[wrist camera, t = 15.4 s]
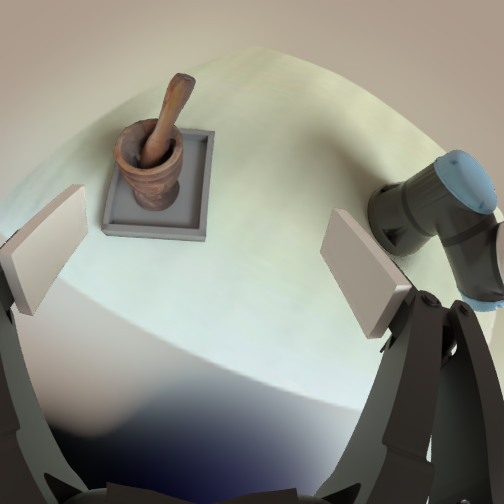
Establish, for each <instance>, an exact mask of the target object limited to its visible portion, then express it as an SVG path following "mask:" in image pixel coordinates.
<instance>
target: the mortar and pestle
mask: <svg viewBox="0 0 504 504" xmlns="http://www.w3.org/2000/svg"><path fill="white" fill-rule="evenodd" d="M195 82H196V81H195V79H194V78H193V77H191V76H189V75H187V74H181V73H177V74H176V75H175V76H174V77H173V78H172V80H171V81H170V83H169V86H168V88H167V91H166V94H165V98H164V101H163V106H162V110H161V113H160V116H159V119H147V120H140V121H138V122H136V123H134V124H132V125H130V126H129V127H127V128H126V129H125V130H124V131H123V132H122V133H121V135H120V136H119V138H118V140H117V142H116V144H115V149H114V157H115V158H116V161H117V163H118V165H119V167H120V170H121V173H122V175H123V176H124V178H125V180H126V181H127V183H128V184H129V185H130V186H131V187H132V188H133V189H134V196H135V199H136V201H137V204H138V205H139V206H141V207H142V208H143V209H146V210H149V211H163V210H165V209H167V208H169V207H170V206H171V205H172V204H173V203H174V202H175V200H176V198H177V197H178V195H179V190H180V185H179V182H178V180H177V179H178V177H179V175H180V173H181V170H182V165H183V152H184V149H183V138H182V135H181V133H180V131H179V130H178V128H177V127H176V126H175V125H174V123H175V121H176V119H177V117H178V115H179V113H180V112H181V110H182V109H183V107H184V105H185V104H186V102H187V101H188V99H189V97H190V95H191V92H192V90H193V89H194V85H195Z"/></svg>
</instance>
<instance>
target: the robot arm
mask: <svg viewBox="0 0 504 504" xmlns="http://www.w3.org/2000/svg"><path fill="white" fill-rule="evenodd" d="M494 190H495V189H494V186H493V184H492V182H491V180H490V178H489V176H488V174H487V173H486V171H485V170H484V169H483V167H482V166H481V165H480V164H479V162H478V161H477V160H476V159H474V158H473V157H472V156H471V155H469V154H468V153H466V152H464V151H461V150H453V151H450V152H449V153H447V154H445V155H444V156H441V157H438V158H437V159H436V160H435V162H433V163H432V164H430V165H429V166H428V167H426V168H425V169H423V170H422V171H420V172H419V173H417V174H416V175H414V176H413V177H411V178H410V179H408V180H407V181H403V182H397V183H392V184H387V185H384V186H382V187H381V188H379V189H378V190H376V191H375V192H374V193H373V194H372V196H371V198H370V201H369V205H368V218H369V222H370V226H371V229H372V231H373V233H374V235H375V237H376V239H377V240H378V242H379V243H380V244H381V245H382V246H383V247H384V248H385V249H386V250H387V251H388V252H390V253H392V254H394V255H396V256H407V255H410V254H413V253H415V252H417V251H418V250H419V249H420V248H421V247H422V246H423V245H424V244H425V243H426V242H427V241H428V240H429V239H430V238H431V237H433V236H435V235H438V236H439V238H440V240H441V243H442V245H443V248H444V250H445V253H446V255H447V258H448V261H449V263H450V266H451V269H452V272H453V274H454V277H455V280H456V284H457V288H458V291H459V292H460V294H461V296H462V299H463V301H464V302H463V301H460V300H455V301H454V303H453V304H452V306H451V307H450V309H449V308H445V307H442V305H441V302H440V301H439V300H438V299H437V298H436V297H435V296H434V295H433V294H431V293H429V292H427V291H423V290H420V291H418V290H417V289H416V287H415V286H414V285H413V284H412V282H411V281H410V280H409V279H408V277H407V276H406V275H404V273H403V271H402V270H400V268H399V267H398V265H397V264H396V263H395V262H394V261H393V260H391V259H390V258H389V257H388V256H387V255H386V254H385V253H384V251H383V250H382V249H381V248H380V247H379V246H378V245H377V243H376V242H375V241H374V240H373V239H372V238H371V237H370V236H369V235H368V233H367V232H366V231H365V230H364V229H363V228H362V227H361V226H360V225H359V224H358V223H357V221H356V220H355V219H354V218H353V217H352V216H351V215H350V214H349V213H348V212H347V211H346V210H342V209H336V208H333V211H332V214H331V218H330V221H329V224H328V228H327V231H326V234H325V237H324V240H323V243H322V246H321V250H320V253H321V255H322V257H323V258H324V260H325V262H326V264H327V265H328V267H329V269H330V271H331V273H332V274H333V276H334V278H335V280H336V281H337V283H338V285H339V287H340V289H341V291H342V292H343V294H344V296H345V298H346V300H347V302H348V304H349V305H350V307H351V309H352V311H353V313H354V315H355V317H356V319H357V321H358V323H359V324H360V326H361V328H362V330H363V332H364V334H365V336H366V338H367V339H373V338H381V337H382V336H383V334H384V333H385V331H386V330H387V328H388V327H389V329H390V331H391V333H392V334H391V336H390V337H389V339H388V340H387V342H386V343H385V345H384V346H383V348H382V349H381V350H380V352H381V353H382V352H383V351H384V354H383V357H382V360H381V363H380V366H379V369H378V372H377V375H376V378H375V380H374V383H373V386H372V389H371V391H370V394H369V396H368V399H367V402H366V404H365V406H364V409H363V411H362V414H361V416H360V419H359V421H358V423H357V425H356V428H355V430H354V432H353V434H352V436H351V438H350V441H349V443H348V445H347V447H346V449H345V451H344V453H343V455H342V457H341V459H340V461H339V462H338V465H337V466H336V468H335V470H334V472H333V473H332V474H331V476H330V477H329V478H328V479H327V480H326V481H325V482H324V483H323V484H322V486H321V487H320V488H319V489H318V491H317V492H316V494H315V495H314V497H312V496H308V495H302V494H297V491H296V488H293V489H286V490H279V491H270V492H262V493H261V492H260V493H251V494H247V495H243V496H240V497H236V498H232V499H228V500H225V501H220V502H216V503H211V504H426V502H427V499H428V496H429V501H428V504H504V400H503V396H502V392H501V388H500V384H499V380H498V377H497V373H496V370H495V367H494V363H493V360H492V357H491V354H490V351H489V348H488V346H487V343H486V340H485V337H484V335H483V332H482V329H481V327H480V324H479V322H478V319H477V317H476V315H475V313H474V311H478V312H489V311H494V310H496V308H498V307H500V308H502V307H504V221H503V222H501V223H497V221H496V218H495V216H494V213H493V212H494V210H495V208H496V206H497V197H496V194H495V192H494ZM87 233H88V225H87V216H86V205H85V191H84V185H71V186H70V187H68V188H67V189H66V190H65V191H63V192H62V193H61V194H60V195H58V196H57V197H56V198H55V199H53V200H52V201H51V202H50V203H49V204H48V205H46V206H45V207H44V208H43V209H42V210H41V211H39V212H38V213H37V214H36V215H35V216H34V217H33V218H32V219H31V220H29V221H28V222H27V223H26V224H25V225H24V226H23V227H22V228H21V229H19V230H17V231H16V232H15V233H14V234H13V235H12V236H11V238H9V239H8V240H7V241H6V243H4V244H3V246H2V247H1V248H0V504H195V503H191V502H188V501H184V500H180V499H177V498H173V497H170V496H167V495H164V494H161V493H158V492H155V491H152V490H146V489H139V488H133V487H128V486H122V485H118V484H113V483H109V482H107V488H102V489H94V490H88V489H87V487H86V486H85V485H84V483H83V482H82V480H81V479H80V478H79V477H78V476H77V474H76V473H75V472H74V471H73V470H72V469H71V467H70V466H69V465H68V463H67V462H66V460H65V458H64V457H63V455H62V453H61V451H60V449H59V447H58V445H57V443H56V441H55V439H54V437H53V435H52V433H51V431H50V429H49V427H48V425H47V422H46V420H45V418H44V415H43V413H42V411H41V408H40V406H39V403H38V400H37V398H36V395H35V392H34V389H33V387H32V384H31V381H30V378H29V375H28V372H27V368H26V365H25V362H24V358H23V354H22V351H21V347H20V343H19V339H18V334H17V330H16V325H15V320H14V315H13V313H12V310H11V308H10V307H11V306H12V304H13V303H14V301H15V303H16V306H17V308H18V310H19V312H20V313H22V314H26V315H31V316H33V315H34V314H35V312H36V310H37V308H38V307H39V305H40V303H41V302H42V300H43V298H44V296H45V295H46V293H47V291H48V290H49V288H50V287H51V285H52V284H53V282H54V280H55V279H56V277H57V276H58V274H59V273H60V271H61V270H62V268H63V267H64V265H65V264H66V262H67V261H68V259H69V258H70V257H71V255H72V254H73V252H74V251H75V250H76V248H77V247H78V245H79V244H80V243H81V241H82V240H83V239H84V237H85V236H86V235H87ZM473 310H474V311H473ZM456 344H457V349H456V352H455V353H454V355H452V353H451V351H452V349H453V348H454V347H455V345H456ZM430 438H432V439H431V442H432V443H431V445H432V446H431V462H429V461H427V459H426V456H427V451H428V446H429V442H430Z"/></svg>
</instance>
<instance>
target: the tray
mask: <svg viewBox="0 0 504 504" xmlns="http://www.w3.org/2000/svg"><path fill="white" fill-rule="evenodd" d="M126 128H127V127H126ZM126 128H125V129H126ZM178 130H179V131H180V133H181V135H182V138H183V149H184V152H183V165H182V170H181V173H180V175H179V177H178V179H177V180H178V182H179V185H180V190H179V195H178V197H177V198H176V200H175V202H174V203H173V204H172V205H171V206H170V207H169V208H167V209H165V210H163V211H149V210H146V209H143V208H142V207H141V206H139V205H138V204H137V201H136V199H135V196H134V189H133V188H132V187H131V186H130V185H129V184H128V183H127V181H126V180H125V178H124V176H123V175H122V173H121V170H120V167H119V165H118V163H117V161H116V163H115V166H114V170H113V175H112V179H111V183H110V188H109V192H108V197H107V202H106V207H105V212H104V218H103V223H102V229H101V230H102V231H103V232H104V233H105V234H106V235H107V236H120V237H136V238H152V239H168V240H183V241H198V242H205V238H206V225H207V211H208V198H209V185H210V174H211V163H212V153H213V143H214V134H215V131H204V130H191V129H178Z"/></svg>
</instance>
